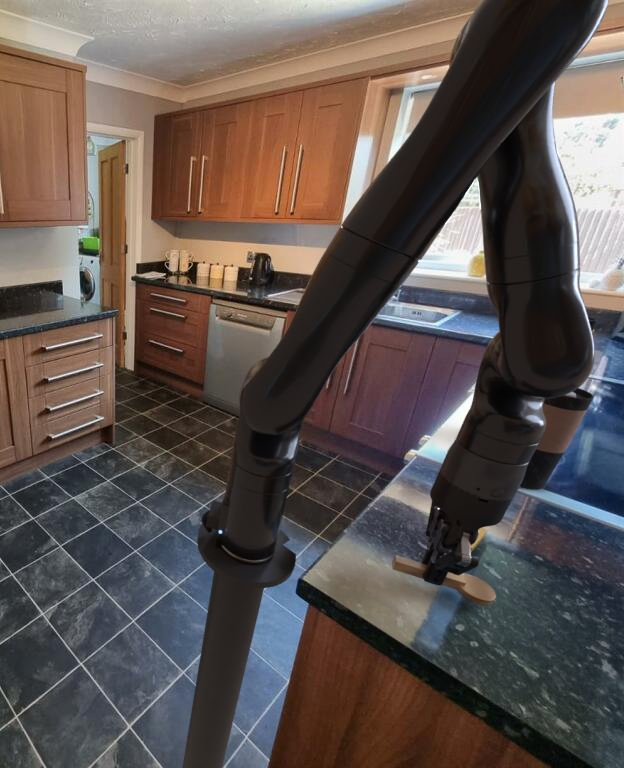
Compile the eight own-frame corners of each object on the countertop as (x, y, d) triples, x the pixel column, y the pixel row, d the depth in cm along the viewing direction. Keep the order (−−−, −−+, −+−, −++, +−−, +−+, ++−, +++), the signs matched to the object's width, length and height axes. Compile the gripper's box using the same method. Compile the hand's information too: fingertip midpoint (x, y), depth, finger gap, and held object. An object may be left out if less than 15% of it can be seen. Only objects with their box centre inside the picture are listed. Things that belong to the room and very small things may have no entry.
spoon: (393, 577, 61) (397, 569, 60) (390, 555, 64) (393, 547, 64) (497, 610, 56) (502, 602, 56) (487, 585, 60) (492, 577, 59)
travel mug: (537, 495, 81) (588, 402, 73) (489, 474, 87) (530, 386, 79) (551, 482, 85) (600, 393, 77) (504, 463, 91) (544, 378, 83)
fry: (468, 555, 67) (472, 548, 67) (457, 549, 68) (461, 542, 68) (484, 537, 71) (487, 530, 70) (473, 531, 72) (476, 525, 71)
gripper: (431, 444, 61) (393, 536, 68) (454, 501, 49) (406, 604, 56) (496, 458, 58) (449, 552, 65) (537, 522, 46) (475, 627, 54)
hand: (429, 576), depth 61 cm, fingers closed on spoon, 1 cm apart
